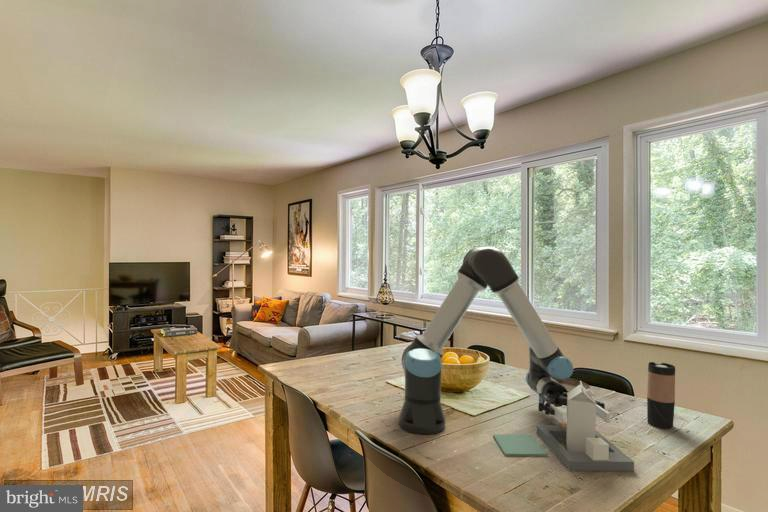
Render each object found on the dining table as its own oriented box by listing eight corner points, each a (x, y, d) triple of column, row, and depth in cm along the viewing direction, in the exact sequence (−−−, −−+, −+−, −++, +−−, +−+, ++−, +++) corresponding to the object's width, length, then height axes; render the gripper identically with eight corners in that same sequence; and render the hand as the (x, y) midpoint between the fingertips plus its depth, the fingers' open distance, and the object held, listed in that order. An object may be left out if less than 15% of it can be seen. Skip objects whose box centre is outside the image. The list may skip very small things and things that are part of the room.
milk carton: (566, 452, 116) (568, 386, 116) (566, 442, 123) (567, 379, 123) (594, 457, 114) (596, 389, 114) (592, 446, 120) (594, 382, 120)
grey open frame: (569, 470, 107) (569, 445, 107) (536, 433, 129) (537, 411, 129) (633, 471, 107) (634, 445, 107) (590, 433, 129) (590, 412, 129)
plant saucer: (544, 379, 184) (545, 372, 184) (595, 390, 171) (595, 382, 171) (528, 391, 168) (528, 383, 168) (582, 404, 155) (582, 395, 155)
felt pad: (505, 455, 114) (505, 453, 114) (492, 436, 126) (493, 434, 126) (547, 456, 114) (547, 454, 114) (531, 436, 126) (531, 434, 126)
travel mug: (665, 431, 132) (667, 369, 132) (641, 422, 139) (643, 363, 138) (678, 426, 135) (680, 366, 135) (654, 418, 142) (656, 360, 142)
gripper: (588, 403, 138) (627, 431, 117) (515, 402, 138) (541, 430, 117) (589, 381, 138) (628, 405, 117) (515, 380, 138) (541, 404, 116)
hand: (584, 417), depth 117 cm, fingers open, 13 cm apart
